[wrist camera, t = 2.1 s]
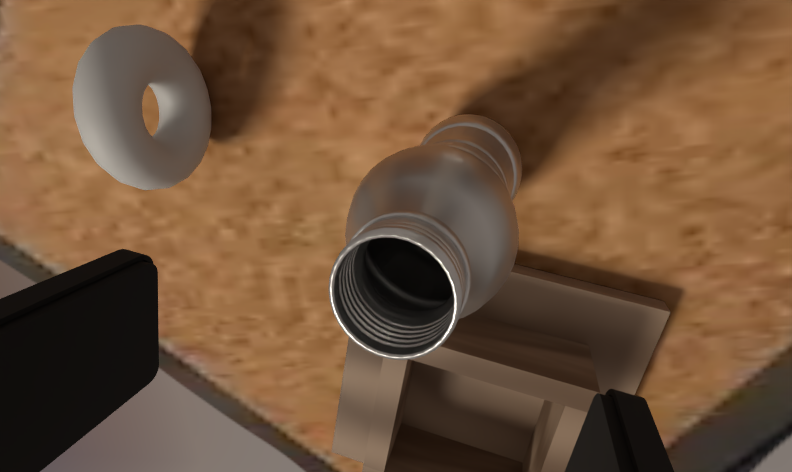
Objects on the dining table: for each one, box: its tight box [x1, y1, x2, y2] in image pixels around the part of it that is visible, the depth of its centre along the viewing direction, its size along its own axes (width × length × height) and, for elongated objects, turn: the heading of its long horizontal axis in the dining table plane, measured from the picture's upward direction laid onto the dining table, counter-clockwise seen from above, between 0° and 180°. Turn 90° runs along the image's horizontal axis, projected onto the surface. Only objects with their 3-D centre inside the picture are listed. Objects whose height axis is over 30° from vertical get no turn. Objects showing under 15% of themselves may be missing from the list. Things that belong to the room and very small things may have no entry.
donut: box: [73, 25, 211, 190], centre depth 29 cm, size 10×4×10 cm, turn 179°
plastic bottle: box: [329, 114, 522, 360], centre depth 21 cm, size 6×7×20 cm
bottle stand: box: [332, 264, 670, 472], centre depth 32 cm, size 20×20×6 cm
